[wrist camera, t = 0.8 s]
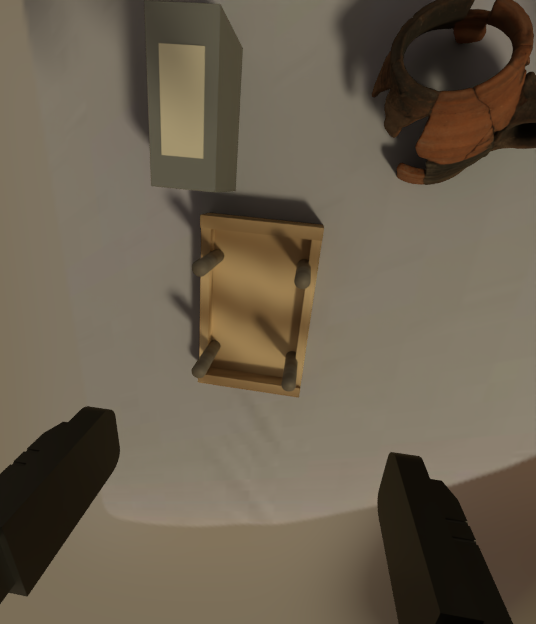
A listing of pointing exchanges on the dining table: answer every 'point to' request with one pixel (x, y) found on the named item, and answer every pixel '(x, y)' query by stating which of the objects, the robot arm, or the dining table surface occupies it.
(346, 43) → the dining table surface
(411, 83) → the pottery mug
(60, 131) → the dining table surface
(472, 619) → the robot arm
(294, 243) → the pin tray
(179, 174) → the block
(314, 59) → the dining table surface
